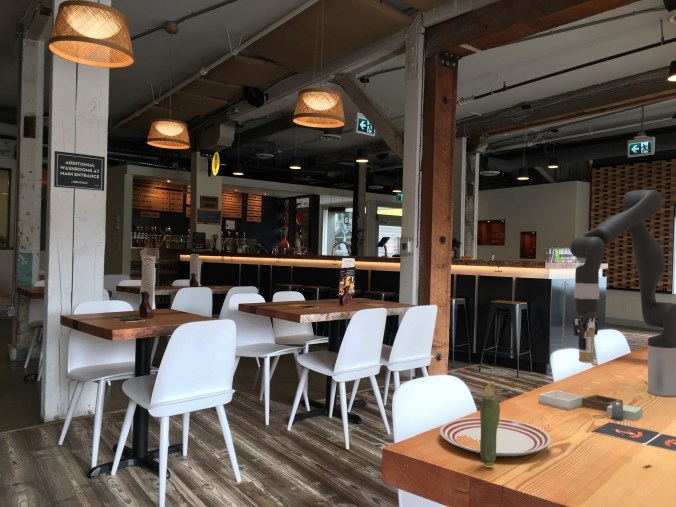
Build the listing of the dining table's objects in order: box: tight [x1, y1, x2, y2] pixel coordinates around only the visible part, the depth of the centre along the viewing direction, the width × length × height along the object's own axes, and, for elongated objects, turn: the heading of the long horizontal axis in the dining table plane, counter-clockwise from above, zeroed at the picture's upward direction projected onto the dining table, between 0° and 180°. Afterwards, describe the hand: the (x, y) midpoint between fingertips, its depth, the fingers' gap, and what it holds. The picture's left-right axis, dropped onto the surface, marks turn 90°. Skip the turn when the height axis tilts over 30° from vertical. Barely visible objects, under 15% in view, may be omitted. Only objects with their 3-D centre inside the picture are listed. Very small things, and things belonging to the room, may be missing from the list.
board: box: [606, 404, 643, 422], centre depth 164 cm, size 7×8×3 cm
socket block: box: [581, 394, 623, 413], centre depth 174 cm, size 9×9×2 cm
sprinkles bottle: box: [578, 321, 595, 364], centre depth 175 cm, size 5×5×13 cm
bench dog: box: [611, 401, 624, 422], centre depth 161 cm, size 3×3×5 cm
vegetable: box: [479, 380, 501, 467], centre depth 122 cm, size 4×4×20 cm
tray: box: [538, 389, 586, 411], centre depth 177 cm, size 10×10×3 cm
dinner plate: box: [439, 416, 551, 457], centre depth 138 cm, size 28×27×3 cm
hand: (585, 348), depth 175 cm, fingers closed on sprinkles bottle, 4 cm apart
